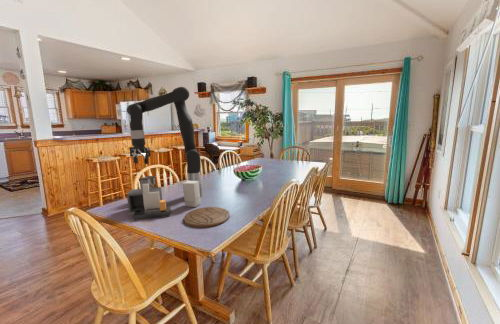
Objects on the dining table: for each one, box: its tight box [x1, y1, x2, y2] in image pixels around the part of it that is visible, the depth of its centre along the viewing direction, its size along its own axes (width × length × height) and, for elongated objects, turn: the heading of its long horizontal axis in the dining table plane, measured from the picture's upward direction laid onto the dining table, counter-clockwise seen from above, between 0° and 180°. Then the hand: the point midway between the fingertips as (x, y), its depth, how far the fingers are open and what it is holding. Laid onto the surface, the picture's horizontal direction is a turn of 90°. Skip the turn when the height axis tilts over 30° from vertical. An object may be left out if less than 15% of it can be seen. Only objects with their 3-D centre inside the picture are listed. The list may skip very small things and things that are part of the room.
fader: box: [159, 199, 167, 211], centre depth 145 cm, size 3×4×5 cm
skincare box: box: [182, 180, 202, 208], centre depth 159 cm, size 8×7×16 cm
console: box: [132, 206, 171, 221], centre depth 144 cm, size 19×8×3 cm, turn 103°
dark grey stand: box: [126, 186, 163, 216], centre depth 153 cm, size 18×12×12 cm
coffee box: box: [138, 175, 157, 189], centre depth 172 cm, size 9×6×16 cm
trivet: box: [183, 206, 231, 229], centre depth 139 cm, size 25×25×2 cm
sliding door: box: [142, 184, 160, 209], centre depth 149 cm, size 9×2×16 cm, turn 103°
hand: (141, 163), depth 154 cm, fingers open, 8 cm apart
